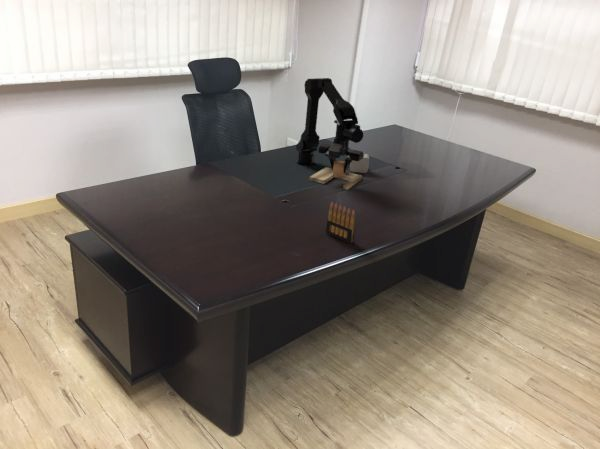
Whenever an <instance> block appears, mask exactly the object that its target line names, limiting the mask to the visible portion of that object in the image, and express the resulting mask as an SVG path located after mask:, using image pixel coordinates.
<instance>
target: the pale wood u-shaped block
mask: <svg viewBox="0 0 600 449" xmlns="http://www.w3.org/2000/svg"><path fill="white" fill-rule="evenodd" d="M350 166H351V164H350V165H349V167H348V169H347V171H346V172H345V174H344V175H343V176H337V175H334V174H333V170H332V167H327V166H324V168H322V169H320V170H319V171H317V172H315V173H314V174H312V175H310V176H309V181H311V182H314V183H319V184H323V185H325V184H327V183H328V182H329V181H331V180H332V179H333V178H335V179H340V180H343V181H347V182H345V183H344V184H343V187H342V188H343V190H347V191H348V190H349V189H350V188H352V187H353V186H355V185H356V184H358V182H360V181H361V180H362V178H363V175H361V174H357V173H355V172H350Z"/></svg>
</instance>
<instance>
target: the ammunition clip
mask: <svg viewBox="0 0 600 449" xmlns="http://www.w3.org/2000/svg"><path fill="white" fill-rule="evenodd" d="M355 215H356V211H355V209H353V210H352V211H351V208H350V207H348V208H347V207H346V205H344V206H343V208H342V204H339V206H338V203H337V202H336V203H335V204H334V202H333V201H331V203H330V204H329V211H328V215H327V216H328V217H327V218H328V219H327V220H326V225H325V226H326V227H325V234H326V233H327V235H328V234H329V235H328V236H331V237H333V236H334V238H336V237H337V238H336V239H338V238H339V239H338V240H340V239H342V240H341V241H343V240H344V241H343V242H345V241H346V242H345V243H347V242H348V243H347V244H350V243H351V244H353V243H355V230H356V228H355V223H356V221H355V220H356V219H355ZM352 242H353V243H352Z"/></svg>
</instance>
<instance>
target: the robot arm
mask: <svg viewBox="0 0 600 449" xmlns="http://www.w3.org/2000/svg"><path fill="white" fill-rule="evenodd" d="M304 94H305V95H306V98H307V104H306V105H307V106H306V115H305V124H304V125H305V127H304V130H303V131H302V134H301V135H300V139H299V141H298V142H297V143H296V145H295V149H296V151H297V152H298V161H297V162H296V164H298V165H303V166H306V167H309V166H311V165H313V164H315V154H314V153H315V152H318V153H319V154H322V155H324V156H325V157H327V158H328V159H329V163H330V166H331V167H330V168H332V170H333V166H334V161H337V160H336V159H339V158H341V156H343V157H344V156H346V158H344V162H345V166H344V173H345V172H346V171H347V169H348V167H349V165H350V166H351V162H352V161H353V160H354V161H360V160H361V159H363V157H364V154H365V153H364V151H362V150H361V151H360V150H356V149H355V150H353V151H349V150H350V147H349V143H350V141H351V142H353V143H355V144H357V143H360V142H361V141H363V139H364V131H363V129H361V125H359V120H358V116H357V113H356V110H355V108H354V106H353V105H352V104H351V103H350V102H349V101H347V100H345V99H344V98H343V97H342V95H341V94H340V92H339V91H338V89H337V88H336V86H335V85H334V83H333V80H332V79H331V78H330V77H322V78H321V77H319V78H318V77H317V78H307V79H306V80H305V82H304ZM323 94H325V96H326V98H327V99H328V101H329V102H330V104H331V105H332V107H333V111H332V112H333V114H334V117H335V118H336V119H335V120H334V121H333V122H334V124H336V127H335V128H336V129H335V137H334V139H333V143H332V144H328V143H324V144H322V145H320V135H318V133H317V123H318V122H317V121H318V113H319V112H318V111H319V101H320V99H321V97H322V96H323Z"/></svg>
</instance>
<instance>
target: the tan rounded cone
mask: <svg viewBox="0 0 600 449" xmlns="http://www.w3.org/2000/svg"><path fill="white" fill-rule="evenodd" d="M344 166H345V161H343V160H336V161H334V166H333V174H334V175H337V176H343V175H344V174H345V173H344Z"/></svg>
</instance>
